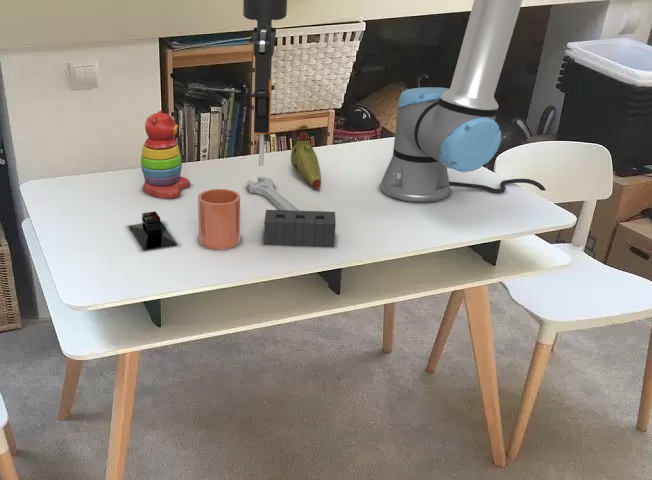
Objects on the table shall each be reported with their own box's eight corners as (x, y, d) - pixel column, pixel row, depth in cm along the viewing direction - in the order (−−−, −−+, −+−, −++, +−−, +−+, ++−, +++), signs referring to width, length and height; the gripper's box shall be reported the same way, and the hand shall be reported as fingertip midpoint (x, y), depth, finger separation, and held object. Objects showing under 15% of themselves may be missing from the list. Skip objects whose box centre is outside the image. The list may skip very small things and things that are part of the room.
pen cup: (241, 233, 158) (241, 189, 152) (237, 250, 151) (238, 205, 146) (202, 231, 158) (201, 188, 153) (196, 248, 151) (195, 203, 146)
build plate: (128, 227, 161) (126, 206, 158) (161, 222, 163) (160, 202, 160) (143, 251, 151) (141, 229, 148) (178, 245, 153) (177, 223, 150)
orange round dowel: (269, 162, 148) (271, 78, 139) (268, 168, 145) (271, 82, 137) (253, 162, 148) (255, 77, 139) (252, 167, 145) (254, 81, 137)
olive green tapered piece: (329, 192, 176) (332, 150, 171) (307, 194, 175) (309, 152, 170) (304, 163, 193) (306, 124, 188) (284, 165, 192) (285, 125, 187)
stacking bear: (176, 200, 173) (172, 122, 164) (135, 195, 176) (129, 118, 166) (192, 183, 182) (190, 108, 172) (153, 179, 185) (148, 105, 175)
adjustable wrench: (308, 223, 162) (308, 215, 161) (279, 227, 160) (279, 219, 159) (268, 182, 182) (268, 175, 181) (242, 185, 180) (242, 178, 179)
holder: (333, 234, 156) (335, 211, 154) (333, 247, 151) (335, 223, 149) (265, 232, 158) (266, 209, 155) (263, 244, 153) (264, 221, 150)
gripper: (247, -14, 138) (245, 116, 150) (239, 0, 124) (238, 142, 136) (288, -14, 137) (283, 117, 149) (285, 0, 123) (280, 143, 136)
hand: (262, 128), depth 143 cm, fingers closed on orange round dowel, 3 cm apart
